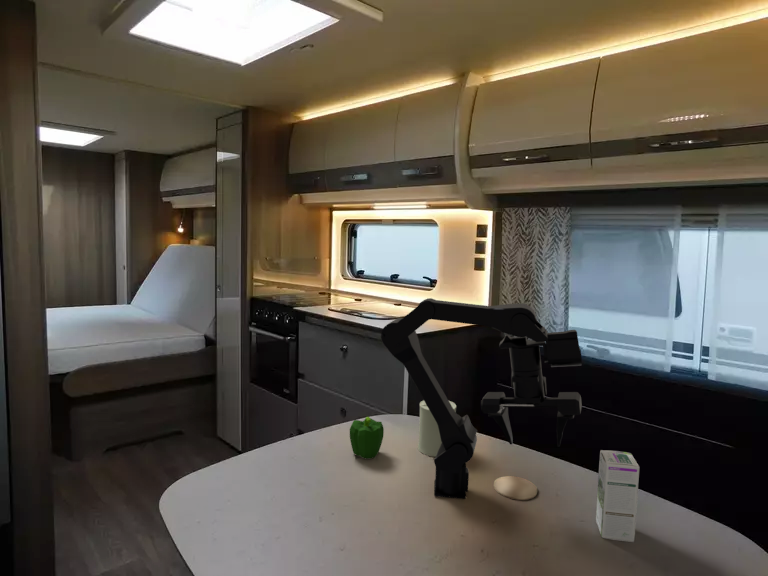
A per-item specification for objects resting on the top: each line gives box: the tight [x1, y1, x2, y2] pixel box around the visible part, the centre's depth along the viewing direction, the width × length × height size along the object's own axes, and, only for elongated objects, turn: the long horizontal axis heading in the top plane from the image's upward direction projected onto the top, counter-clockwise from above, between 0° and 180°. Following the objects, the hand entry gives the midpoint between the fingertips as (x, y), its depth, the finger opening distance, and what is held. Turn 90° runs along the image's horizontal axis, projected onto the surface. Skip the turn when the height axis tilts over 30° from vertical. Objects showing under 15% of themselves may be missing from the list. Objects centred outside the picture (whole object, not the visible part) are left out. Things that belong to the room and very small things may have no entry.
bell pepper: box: [349, 416, 385, 460], centre depth 122 cm, size 8×8×10 cm
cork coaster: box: [493, 475, 538, 501], centre depth 108 cm, size 9×9×1 cm
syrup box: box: [595, 449, 640, 543], centre depth 92 cm, size 6×6×14 cm
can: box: [417, 399, 457, 458], centre depth 126 cm, size 9×9×12 cm
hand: (534, 444), depth 100 cm, fingers open, 9 cm apart
